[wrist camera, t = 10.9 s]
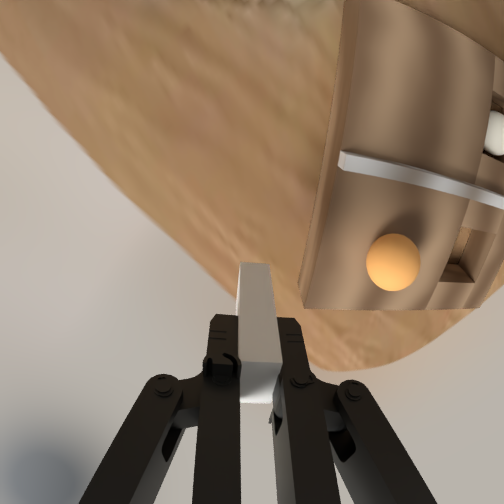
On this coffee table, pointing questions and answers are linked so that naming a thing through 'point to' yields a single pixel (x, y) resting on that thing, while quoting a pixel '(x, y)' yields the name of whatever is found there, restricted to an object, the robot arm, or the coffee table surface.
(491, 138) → the cream ball
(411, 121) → the putting board
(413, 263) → the orange ball
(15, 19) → the coffee table surface
